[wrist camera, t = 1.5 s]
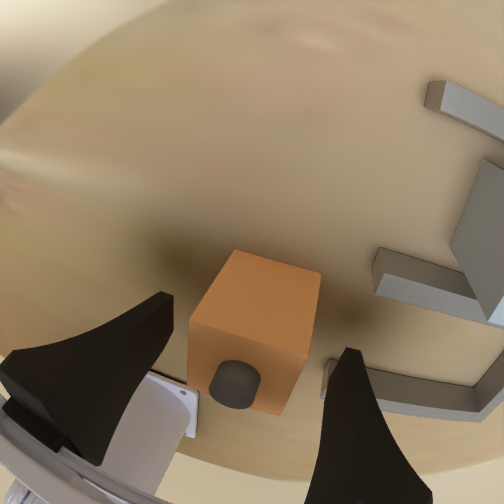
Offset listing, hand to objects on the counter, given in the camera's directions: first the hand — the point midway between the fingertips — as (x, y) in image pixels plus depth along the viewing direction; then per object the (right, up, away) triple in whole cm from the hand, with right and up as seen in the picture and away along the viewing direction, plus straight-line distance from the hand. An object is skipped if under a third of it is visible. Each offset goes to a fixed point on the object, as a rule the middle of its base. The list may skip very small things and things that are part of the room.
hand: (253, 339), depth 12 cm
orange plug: (+1, +1, +3) cm, 3 cm away
